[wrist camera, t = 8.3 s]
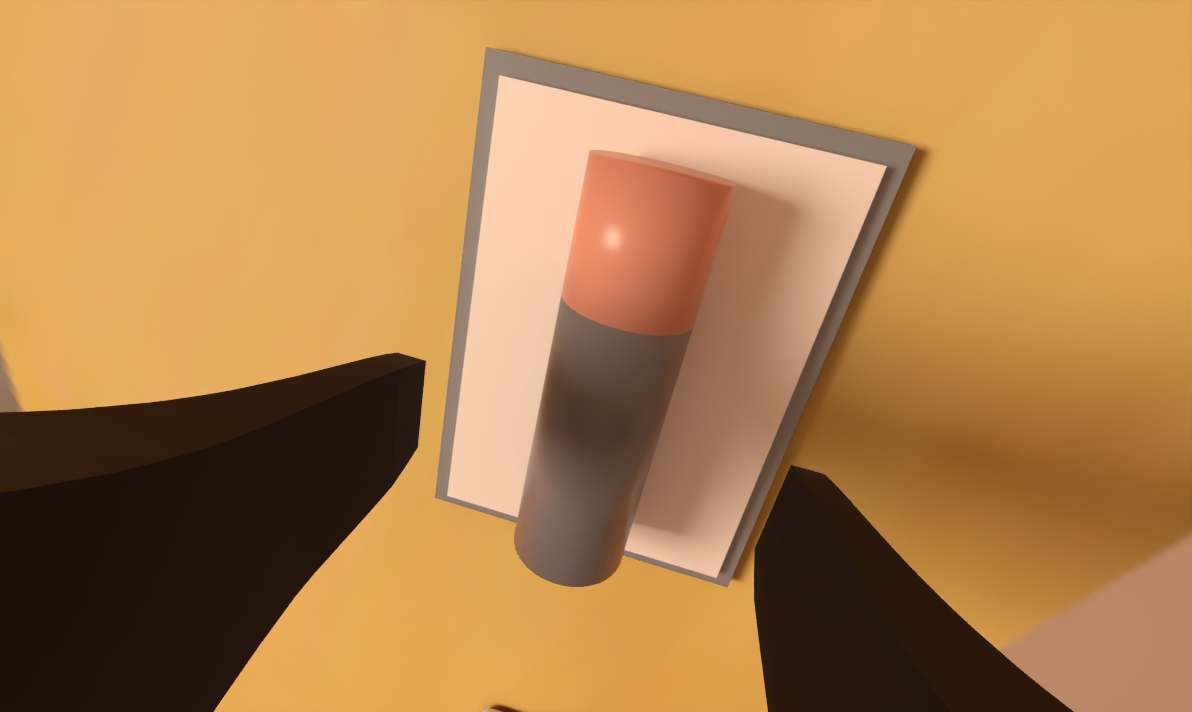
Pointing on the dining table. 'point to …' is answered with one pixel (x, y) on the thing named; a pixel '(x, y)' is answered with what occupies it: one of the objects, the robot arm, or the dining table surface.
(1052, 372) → the dining table surface
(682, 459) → the notepad
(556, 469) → the marker
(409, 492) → the dining table surface
